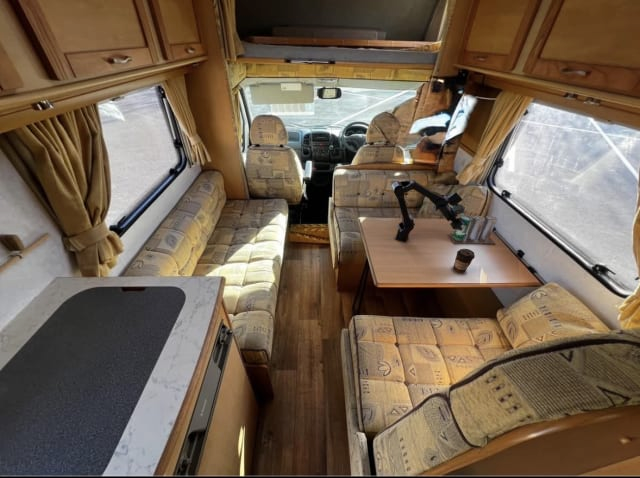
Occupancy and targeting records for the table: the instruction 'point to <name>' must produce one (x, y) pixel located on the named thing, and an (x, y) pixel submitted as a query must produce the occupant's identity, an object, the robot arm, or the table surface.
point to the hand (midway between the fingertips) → (458, 226)
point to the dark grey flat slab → (477, 241)
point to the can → (459, 234)
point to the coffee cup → (463, 260)
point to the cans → (485, 228)
